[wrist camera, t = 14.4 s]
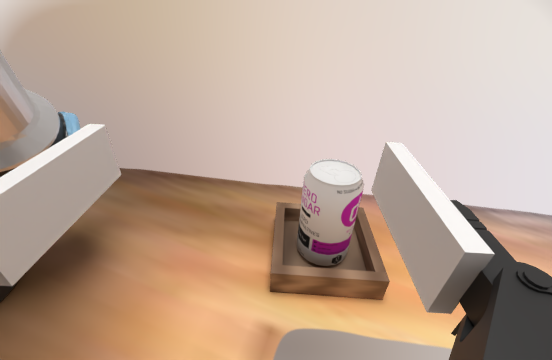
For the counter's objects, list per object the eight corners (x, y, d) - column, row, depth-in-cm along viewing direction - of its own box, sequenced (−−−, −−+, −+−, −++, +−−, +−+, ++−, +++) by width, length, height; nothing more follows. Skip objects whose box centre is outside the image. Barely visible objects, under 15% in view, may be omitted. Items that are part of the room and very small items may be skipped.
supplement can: (354, 247, 45) (375, 170, 37) (330, 278, 39) (349, 196, 31) (313, 225, 49) (324, 152, 41) (286, 250, 44) (293, 172, 36)
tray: (270, 291, 38) (270, 273, 36) (276, 218, 52) (276, 202, 50) (382, 299, 38) (389, 281, 36) (358, 224, 52) (363, 207, 49)
